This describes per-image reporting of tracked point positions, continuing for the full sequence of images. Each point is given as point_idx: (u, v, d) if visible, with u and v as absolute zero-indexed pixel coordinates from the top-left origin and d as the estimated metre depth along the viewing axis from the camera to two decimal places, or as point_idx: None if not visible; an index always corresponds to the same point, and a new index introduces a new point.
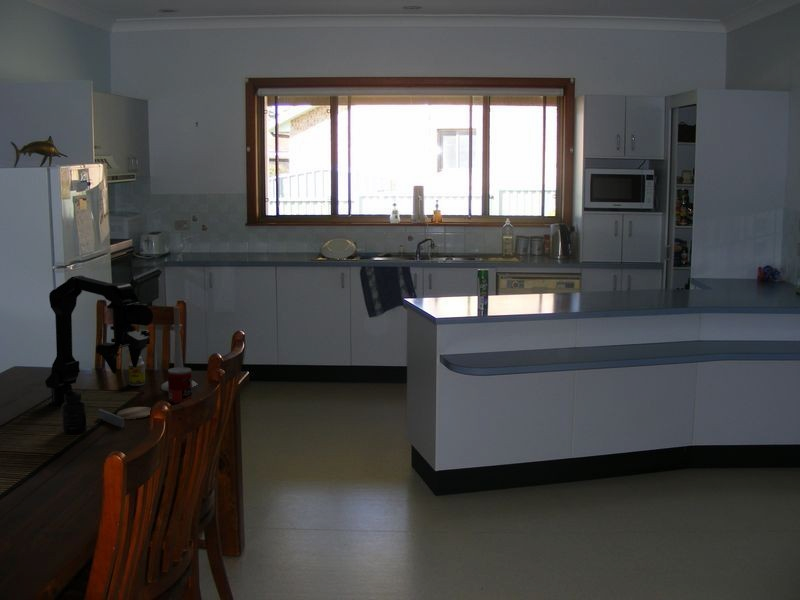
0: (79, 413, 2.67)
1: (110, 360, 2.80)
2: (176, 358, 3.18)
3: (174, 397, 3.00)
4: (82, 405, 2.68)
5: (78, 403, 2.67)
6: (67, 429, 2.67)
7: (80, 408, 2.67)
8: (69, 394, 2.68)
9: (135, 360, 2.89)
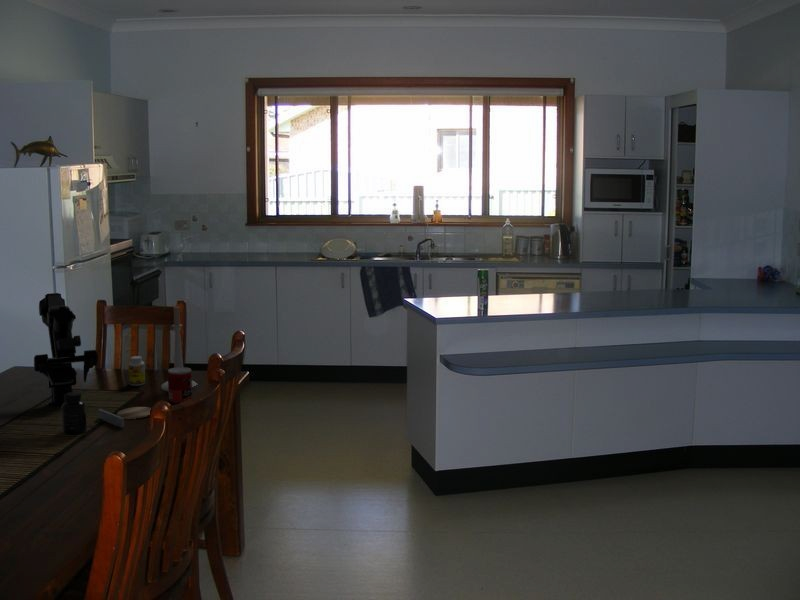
0: (79, 413, 2.67)
1: (48, 373, 2.75)
2: (176, 358, 3.18)
3: (174, 397, 3.00)
4: (82, 405, 2.68)
5: (78, 403, 2.67)
6: (67, 429, 2.67)
7: (80, 408, 2.67)
8: (69, 394, 2.68)
9: None
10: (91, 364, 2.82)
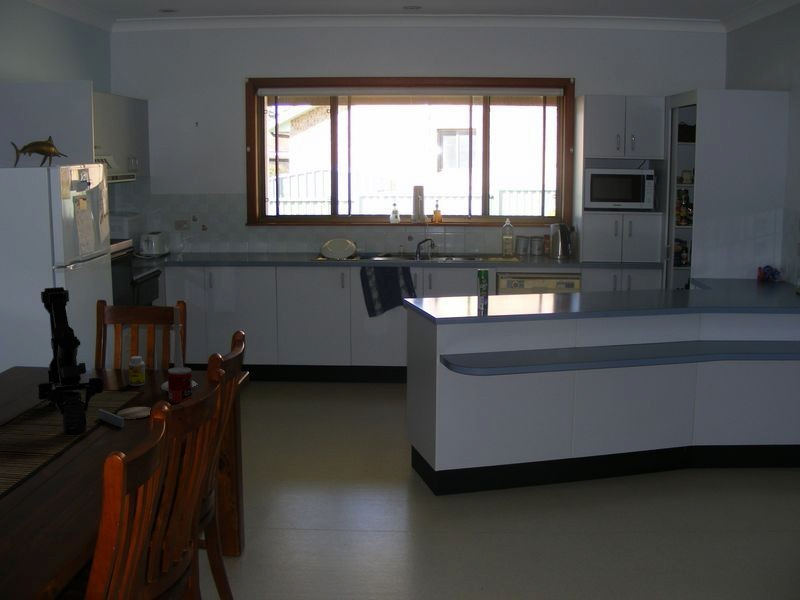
0: (79, 413, 2.67)
1: (56, 401, 2.68)
2: (176, 358, 3.18)
3: (174, 397, 3.00)
4: (82, 405, 2.68)
5: (78, 403, 2.67)
6: (67, 429, 2.67)
7: (80, 408, 2.67)
8: (69, 394, 2.68)
9: (85, 403, 2.70)
10: (93, 392, 2.74)
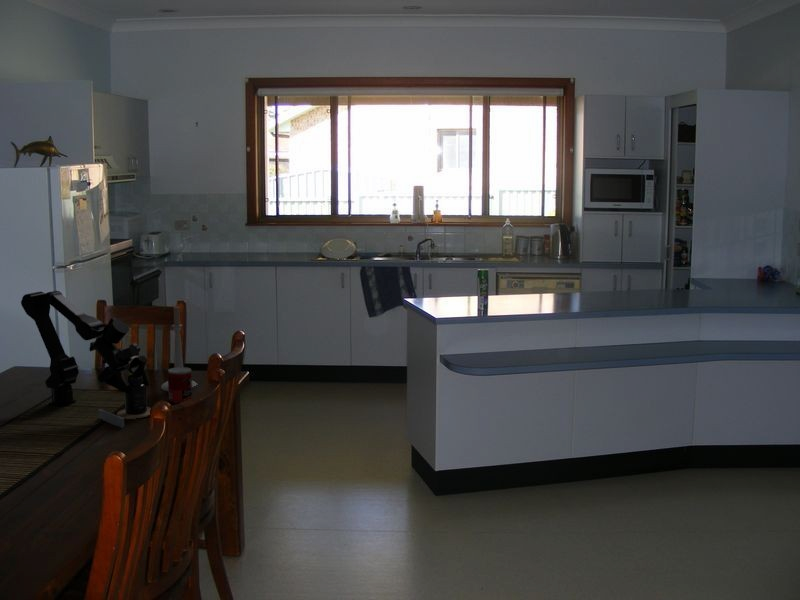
0: (145, 393, 2.87)
1: (117, 383, 2.82)
2: (176, 358, 3.18)
3: (174, 397, 3.00)
4: (145, 385, 2.88)
5: (142, 383, 2.87)
6: (137, 409, 2.85)
7: None
8: (133, 377, 2.86)
9: (144, 379, 2.91)
10: None
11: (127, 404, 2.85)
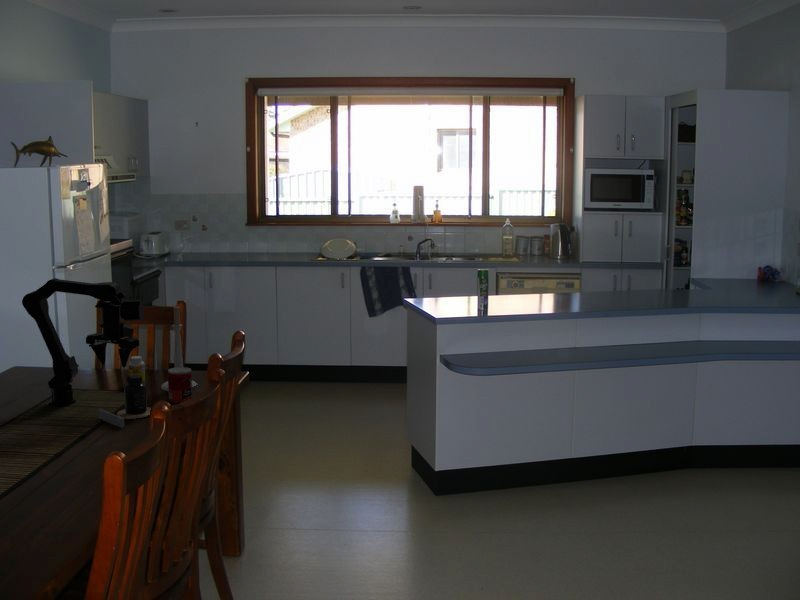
0: (145, 392, 2.87)
1: (125, 354, 2.95)
2: (176, 358, 3.18)
3: (174, 397, 3.00)
4: None
5: (142, 383, 2.87)
6: (137, 409, 2.85)
7: (145, 387, 2.87)
8: (133, 377, 2.85)
9: (104, 357, 3.00)
10: None
11: (127, 404, 2.85)
